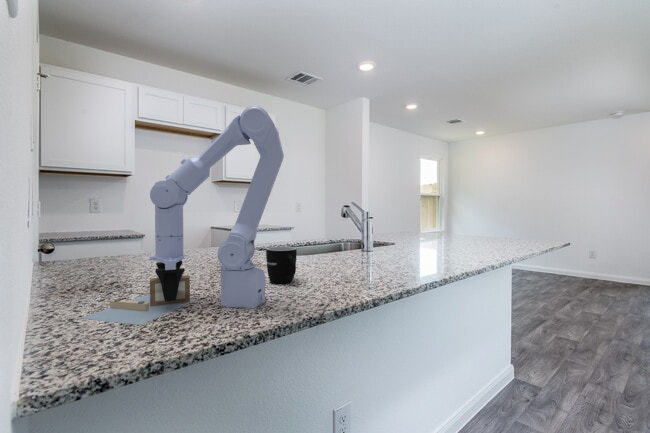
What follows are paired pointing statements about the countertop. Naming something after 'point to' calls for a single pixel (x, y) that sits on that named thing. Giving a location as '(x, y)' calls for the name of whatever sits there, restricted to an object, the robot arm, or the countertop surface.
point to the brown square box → (157, 292)
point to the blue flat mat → (134, 311)
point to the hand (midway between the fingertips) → (169, 296)
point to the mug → (281, 264)
